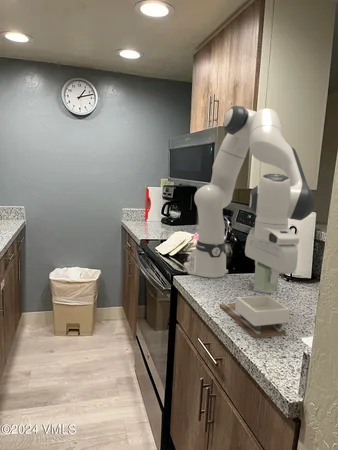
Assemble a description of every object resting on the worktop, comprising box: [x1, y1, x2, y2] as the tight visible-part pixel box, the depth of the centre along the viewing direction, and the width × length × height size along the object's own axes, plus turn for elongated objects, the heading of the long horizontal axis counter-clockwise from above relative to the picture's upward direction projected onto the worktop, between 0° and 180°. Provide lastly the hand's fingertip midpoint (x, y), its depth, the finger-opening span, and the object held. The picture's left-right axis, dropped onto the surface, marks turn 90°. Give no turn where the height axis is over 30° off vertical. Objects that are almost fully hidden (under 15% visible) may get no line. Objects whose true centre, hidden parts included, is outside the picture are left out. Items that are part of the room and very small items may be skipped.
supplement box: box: [253, 266, 274, 294], centre depth 135 cm, size 7×7×13 cm
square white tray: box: [235, 294, 291, 330], centre depth 101 cm, size 11×11×6 cm
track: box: [219, 302, 287, 339], centre depth 107 cm, size 22×10×1 cm, turn 18°
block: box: [254, 264, 279, 290], centre depth 100 cm, size 4×4×6 cm
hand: (266, 279), depth 100 cm, fingers closed on block, 4 cm apart
